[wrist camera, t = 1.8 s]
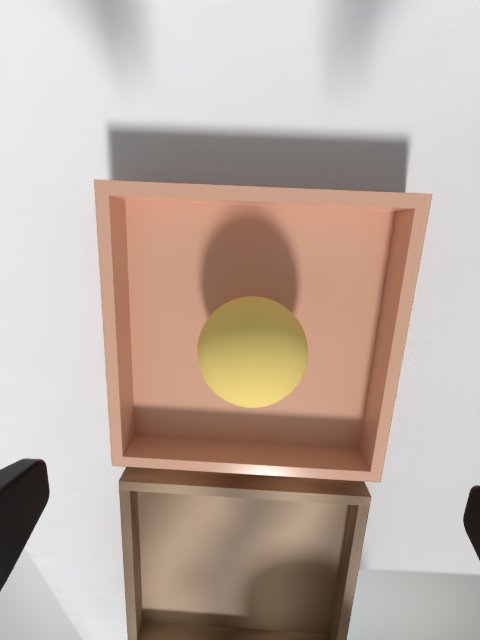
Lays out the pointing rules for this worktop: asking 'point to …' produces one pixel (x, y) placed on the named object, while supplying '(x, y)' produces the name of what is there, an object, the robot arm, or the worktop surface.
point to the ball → (252, 351)
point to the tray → (239, 554)
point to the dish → (262, 281)
